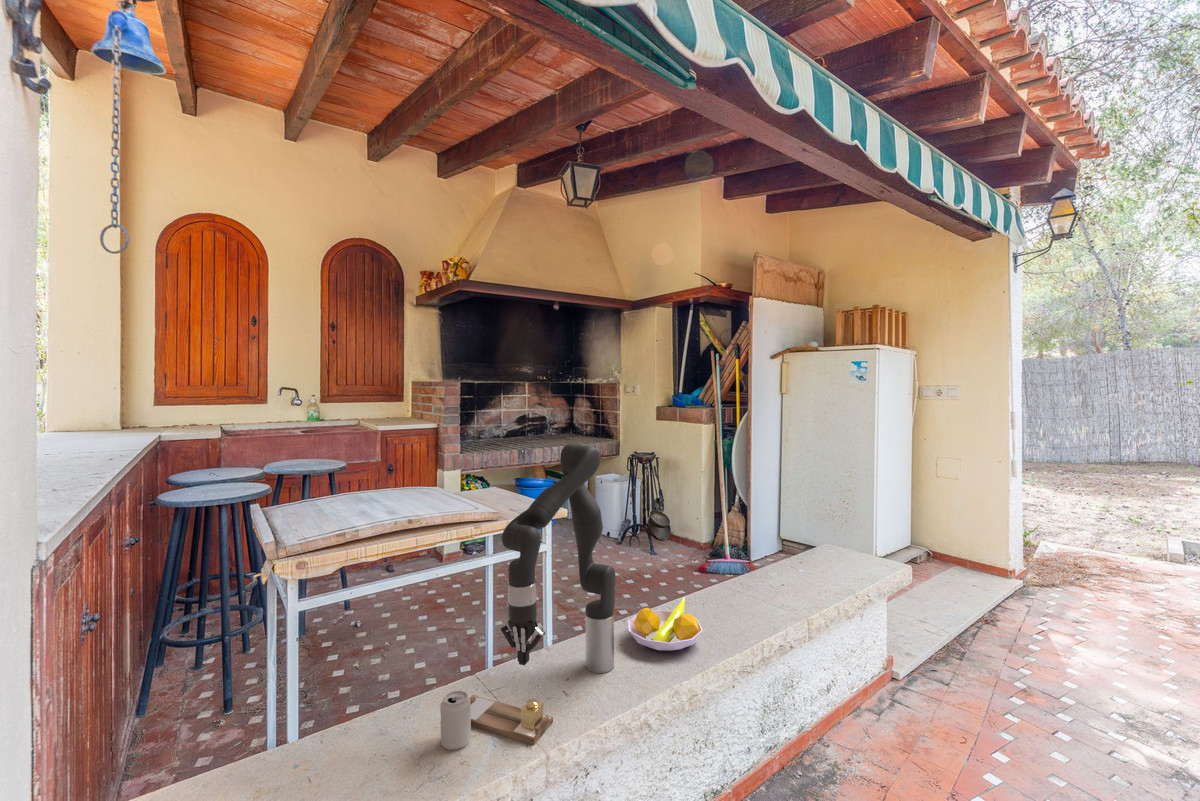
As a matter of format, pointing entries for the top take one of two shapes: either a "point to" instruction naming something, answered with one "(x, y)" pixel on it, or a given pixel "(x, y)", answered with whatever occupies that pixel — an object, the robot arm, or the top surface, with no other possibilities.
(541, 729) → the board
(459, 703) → the can
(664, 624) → the fruit bowl
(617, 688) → the top surface
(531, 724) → the brass knob
